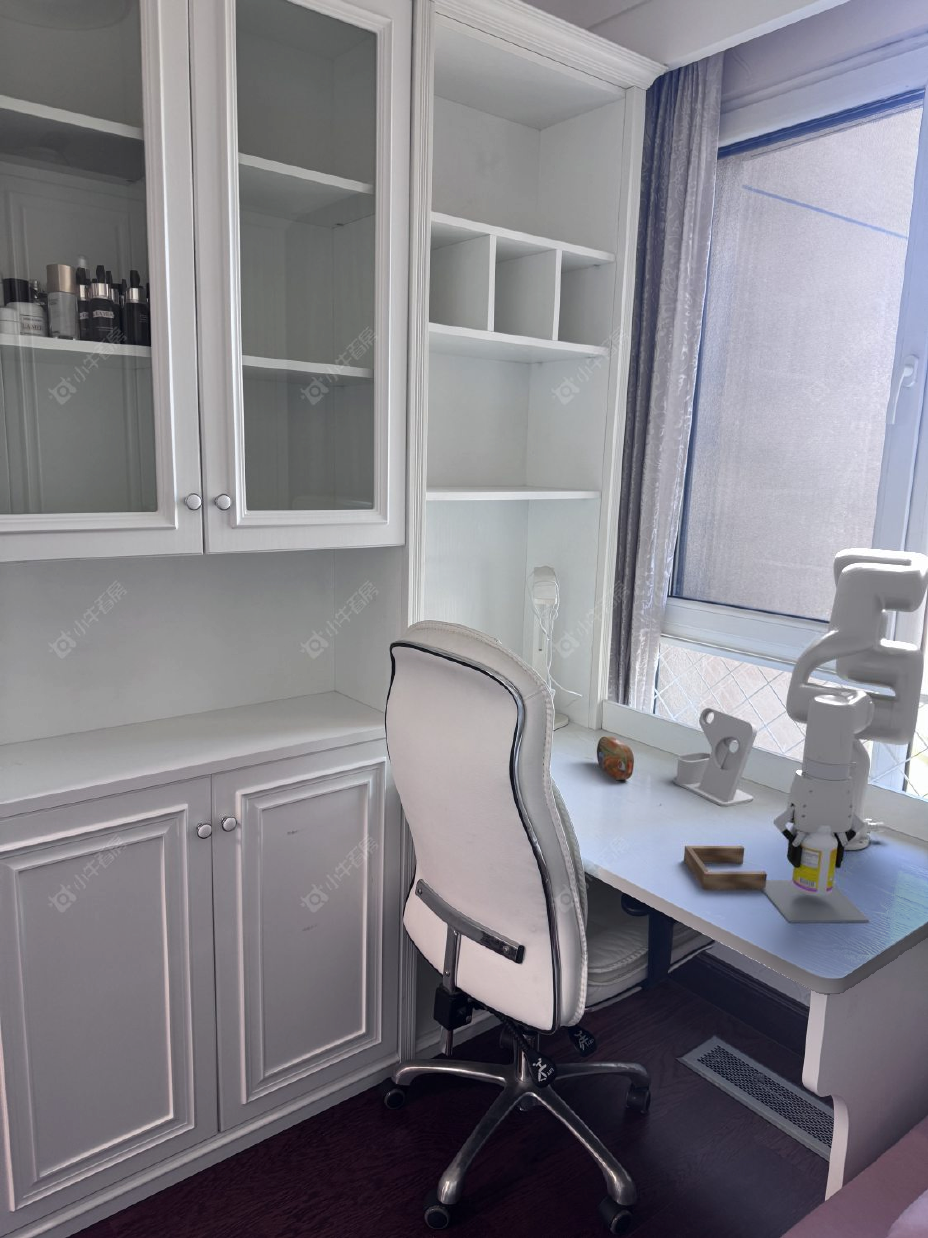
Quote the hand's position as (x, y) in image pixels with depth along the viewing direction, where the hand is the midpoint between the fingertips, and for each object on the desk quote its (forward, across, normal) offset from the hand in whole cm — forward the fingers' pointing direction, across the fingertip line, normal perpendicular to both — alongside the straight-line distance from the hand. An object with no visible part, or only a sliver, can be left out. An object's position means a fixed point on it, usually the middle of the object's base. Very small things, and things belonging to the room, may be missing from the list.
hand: (814, 863), depth 151 cm
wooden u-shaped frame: (+7, +12, -10) cm, 17 cm away
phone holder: (+7, -1, -52) cm, 52 cm away
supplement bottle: (+5, 0, 0) cm, 5 cm away
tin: (+7, +20, -62) cm, 66 cm away
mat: (+7, 0, 0) cm, 7 cm away
